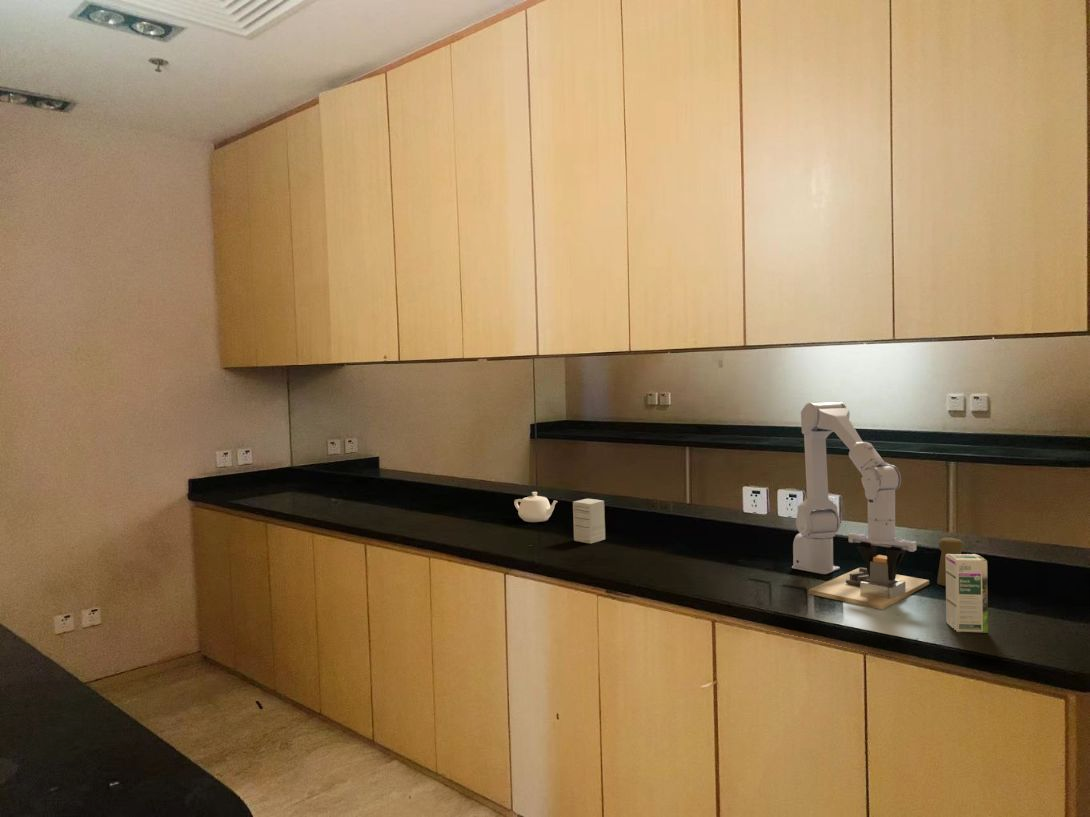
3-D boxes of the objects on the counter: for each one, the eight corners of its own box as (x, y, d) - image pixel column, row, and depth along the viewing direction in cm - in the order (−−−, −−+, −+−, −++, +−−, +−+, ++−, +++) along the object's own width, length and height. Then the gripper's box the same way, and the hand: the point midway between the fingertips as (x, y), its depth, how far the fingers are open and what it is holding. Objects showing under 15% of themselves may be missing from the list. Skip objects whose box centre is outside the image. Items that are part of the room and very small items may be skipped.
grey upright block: (861, 585, 169) (861, 555, 169) (869, 582, 172) (869, 552, 171) (887, 590, 165) (887, 560, 164) (895, 587, 167) (895, 556, 167)
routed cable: (844, 583, 174) (844, 579, 174) (859, 576, 180) (859, 572, 180) (877, 590, 169) (877, 586, 169) (892, 582, 174) (892, 578, 174)
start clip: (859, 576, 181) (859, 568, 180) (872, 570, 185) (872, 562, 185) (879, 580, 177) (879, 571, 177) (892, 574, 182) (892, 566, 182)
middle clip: (860, 585, 173) (860, 577, 173) (849, 581, 176) (849, 573, 176) (872, 583, 174) (872, 575, 174) (861, 580, 177) (861, 571, 177)
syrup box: (956, 632, 144) (956, 559, 143) (945, 622, 149) (945, 552, 149) (988, 633, 143) (988, 560, 142) (975, 623, 148) (975, 552, 148)
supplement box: (588, 536, 238) (587, 498, 237) (605, 539, 232) (605, 500, 232) (573, 540, 232) (572, 501, 232) (590, 544, 227) (589, 503, 226)
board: (808, 593, 171) (808, 589, 171) (859, 571, 188) (859, 567, 188) (882, 609, 158) (882, 605, 158) (929, 584, 176) (929, 580, 176)
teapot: (568, 519, 267) (567, 492, 266) (547, 525, 257) (546, 497, 256) (525, 514, 279) (525, 487, 278) (504, 520, 269) (503, 492, 269)
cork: (939, 578, 180) (939, 534, 180) (967, 582, 176) (967, 537, 176) (934, 584, 175) (934, 539, 175) (962, 588, 172) (962, 542, 171)
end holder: (860, 593, 167) (860, 582, 167) (874, 586, 172) (874, 575, 172) (891, 599, 162) (891, 588, 162) (905, 592, 167) (905, 581, 167)
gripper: (842, 517, 169) (842, 575, 170) (907, 525, 158) (907, 587, 159) (856, 512, 174) (856, 569, 174) (920, 520, 163) (920, 580, 164)
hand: (881, 577), depth 167 cm, fingers closed on grey upright block, 4 cm apart
